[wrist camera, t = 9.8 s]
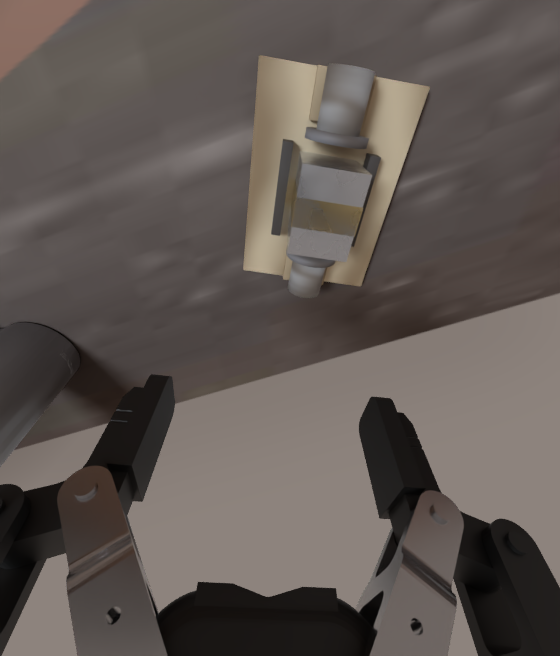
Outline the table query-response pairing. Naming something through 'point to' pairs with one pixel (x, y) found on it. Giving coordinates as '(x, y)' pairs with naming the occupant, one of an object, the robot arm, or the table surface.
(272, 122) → the beige flat board
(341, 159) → the block
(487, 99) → the table surface
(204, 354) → the table surface
